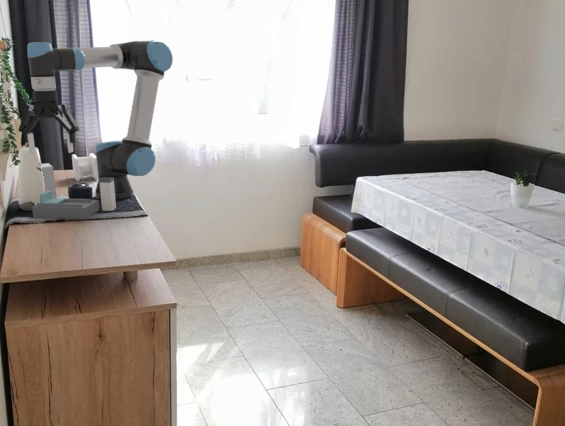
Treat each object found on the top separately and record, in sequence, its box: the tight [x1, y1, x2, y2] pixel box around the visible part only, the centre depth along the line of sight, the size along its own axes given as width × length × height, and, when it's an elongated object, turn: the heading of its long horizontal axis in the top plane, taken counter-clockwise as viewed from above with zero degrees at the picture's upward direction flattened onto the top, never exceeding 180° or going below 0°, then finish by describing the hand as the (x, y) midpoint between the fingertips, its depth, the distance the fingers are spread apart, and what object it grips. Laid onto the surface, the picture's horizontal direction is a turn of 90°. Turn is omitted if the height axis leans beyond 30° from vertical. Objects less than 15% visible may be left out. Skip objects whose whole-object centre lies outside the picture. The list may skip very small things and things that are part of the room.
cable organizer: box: [71, 152, 98, 183], centre depth 276 cm, size 15×11×12 cm
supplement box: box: [40, 162, 57, 198], centre depth 232 cm, size 9×9×15 cm
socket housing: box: [31, 198, 100, 220], centre depth 215 cm, size 12×20×5 cm, turn 85°
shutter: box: [40, 191, 66, 204], centre depth 214 cm, size 6×6×4 cm
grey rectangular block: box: [99, 177, 117, 212], centre depth 220 cm, size 4×4×12 cm
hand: (51, 152), depth 201 cm, fingers open, 13 cm apart
